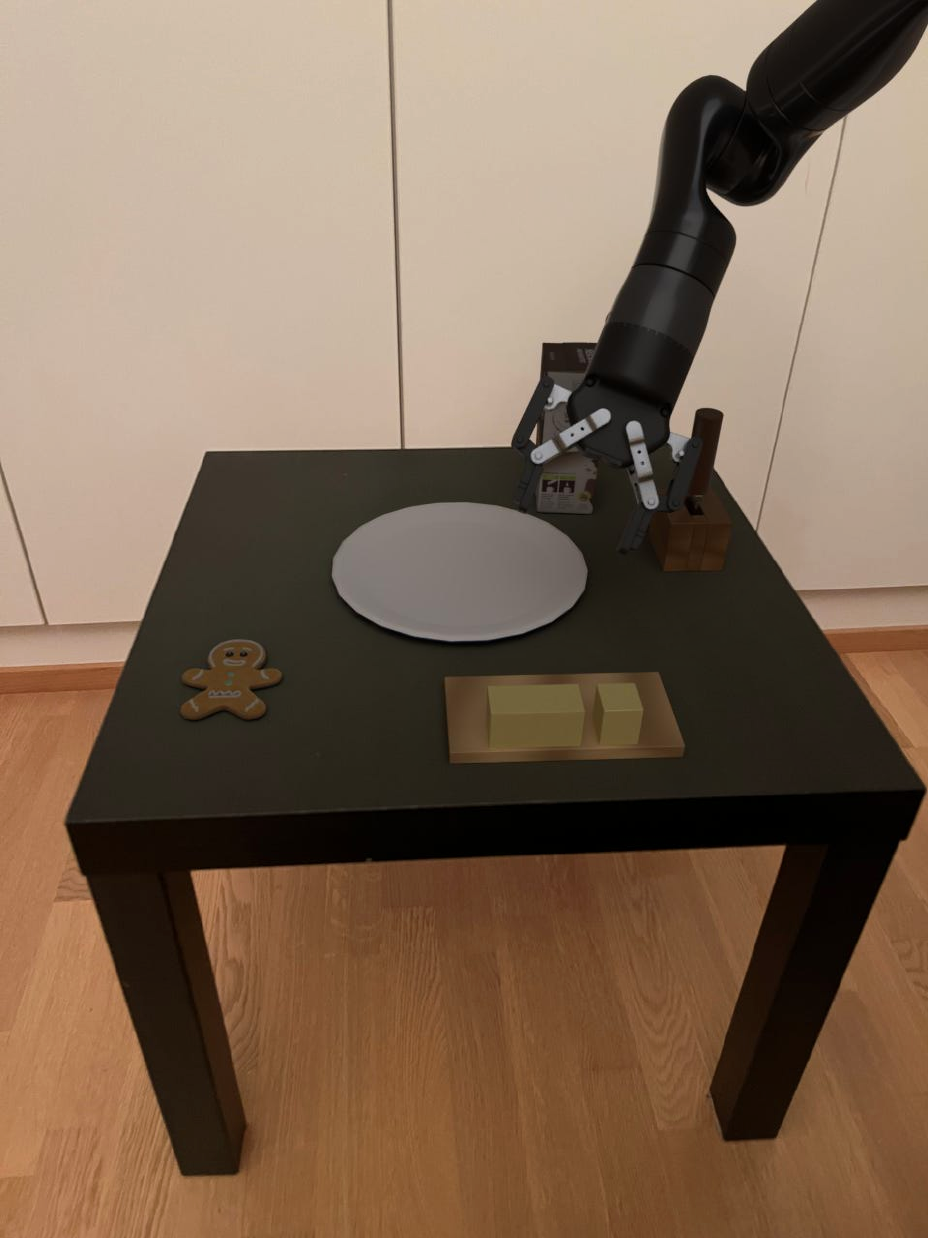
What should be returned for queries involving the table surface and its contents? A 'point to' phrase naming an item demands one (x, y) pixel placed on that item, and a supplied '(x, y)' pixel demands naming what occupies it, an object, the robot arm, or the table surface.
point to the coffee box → (569, 473)
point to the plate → (459, 572)
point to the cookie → (230, 681)
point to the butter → (534, 716)
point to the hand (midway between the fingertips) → (571, 532)
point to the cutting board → (654, 738)
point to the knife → (704, 454)
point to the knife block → (691, 536)
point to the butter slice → (617, 713)
